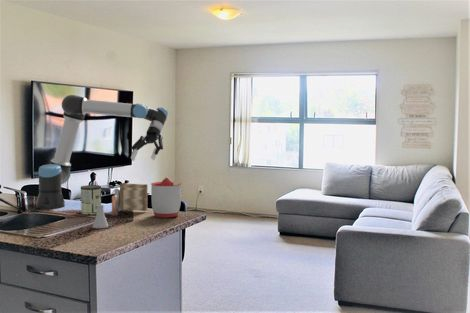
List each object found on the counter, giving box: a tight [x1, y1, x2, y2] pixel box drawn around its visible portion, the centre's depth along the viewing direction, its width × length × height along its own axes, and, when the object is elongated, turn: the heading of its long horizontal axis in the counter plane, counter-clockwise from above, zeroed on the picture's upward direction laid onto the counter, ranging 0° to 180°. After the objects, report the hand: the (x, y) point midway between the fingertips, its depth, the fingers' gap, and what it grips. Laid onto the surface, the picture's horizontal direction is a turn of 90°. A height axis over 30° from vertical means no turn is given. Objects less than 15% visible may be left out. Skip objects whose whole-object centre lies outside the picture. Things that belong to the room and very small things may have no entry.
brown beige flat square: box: [119, 182, 148, 212], centre depth 247 cm, size 15×2×14 cm, turn 78°
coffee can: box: [80, 184, 102, 215], centre depth 242 cm, size 10×10×14 cm
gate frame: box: [111, 188, 121, 217], centre depth 243 cm, size 15×3×12 cm, turn 6°
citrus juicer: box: [150, 177, 183, 219], centre depth 237 cm, size 16×17×20 cm
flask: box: [92, 204, 109, 229], centre depth 210 cm, size 7×7×10 cm
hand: (142, 159), depth 255 cm, fingers open, 13 cm apart
